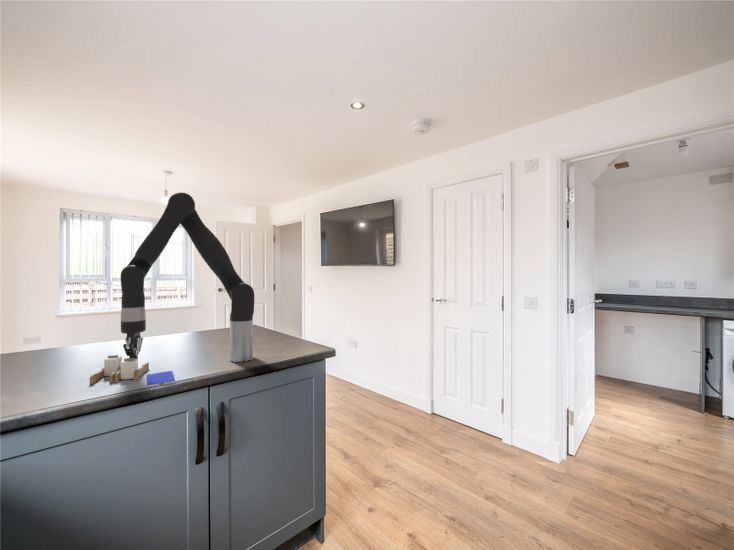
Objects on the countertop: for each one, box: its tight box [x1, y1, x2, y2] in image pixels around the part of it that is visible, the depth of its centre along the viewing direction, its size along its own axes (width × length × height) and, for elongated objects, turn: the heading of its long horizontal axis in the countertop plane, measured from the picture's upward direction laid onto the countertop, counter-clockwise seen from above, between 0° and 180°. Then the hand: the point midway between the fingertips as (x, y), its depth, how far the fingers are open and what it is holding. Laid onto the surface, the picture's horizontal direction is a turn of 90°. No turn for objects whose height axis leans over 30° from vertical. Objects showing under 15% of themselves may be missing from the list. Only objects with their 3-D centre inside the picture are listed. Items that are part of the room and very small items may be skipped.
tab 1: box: [103, 354, 123, 377], centre depth 120 cm, size 4×4×7 cm
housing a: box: [114, 362, 150, 383], centre depth 119 cm, size 6×14×3 cm, turn 19°
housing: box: [89, 366, 121, 385], centre depth 117 cm, size 6×14×3 cm, turn 19°
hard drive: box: [145, 370, 176, 388], centre depth 114 cm, size 2×8×12 cm
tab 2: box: [120, 357, 139, 381], centre depth 116 cm, size 4×4×7 cm
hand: (133, 365), depth 120 cm, fingers closed
